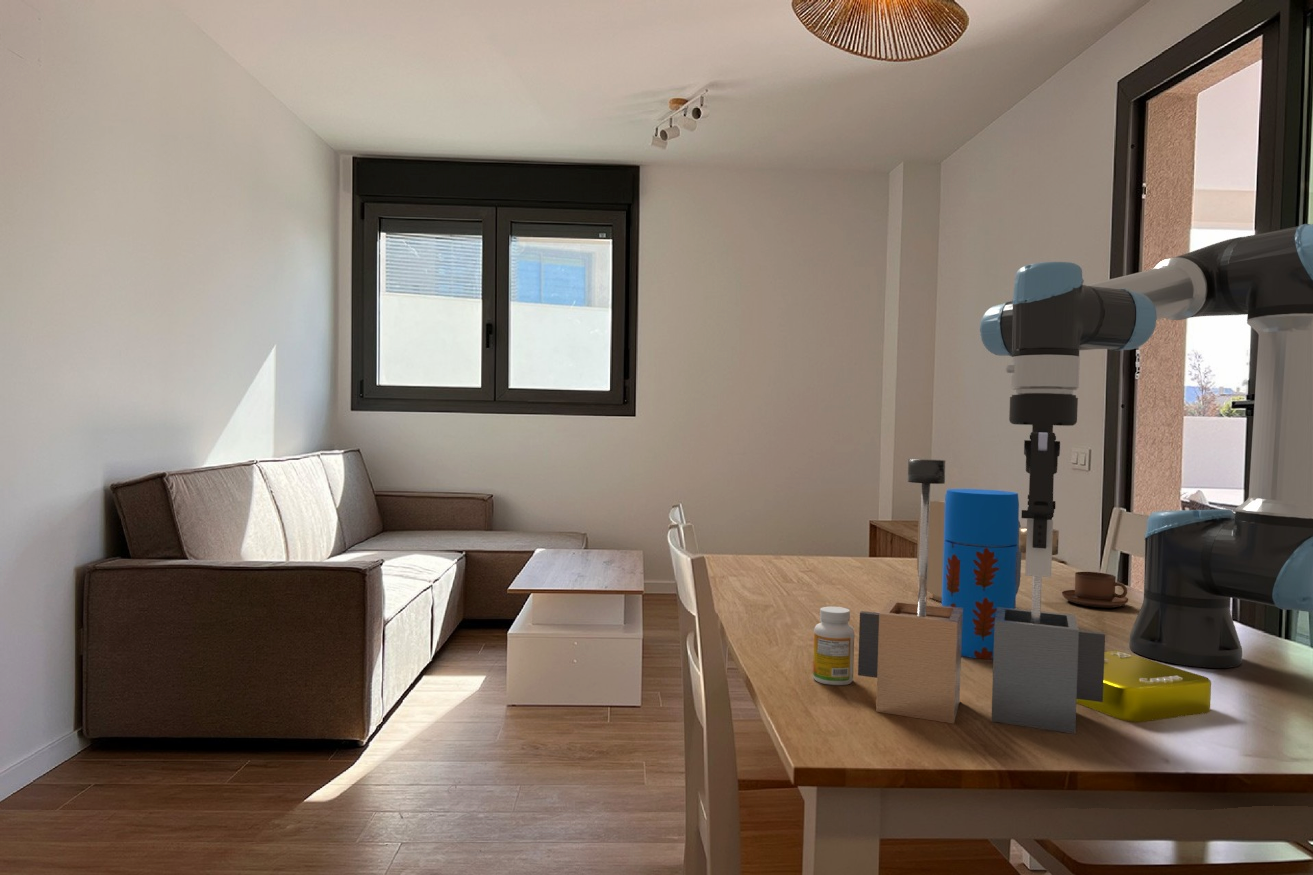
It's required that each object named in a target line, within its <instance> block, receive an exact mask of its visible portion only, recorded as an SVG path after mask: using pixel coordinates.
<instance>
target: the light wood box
mask: <svg viewBox="0 0 1313 875" xmlns="http://www.w3.org/2000/svg"><path fill="white" fill-rule="evenodd" d="M900 613H906V614H915V615H918V602H911V601H903V600H902V601H901V600H892V599H891V600H889V601H888V602H887V603H886V605H885V606H884V607H883V608H882V609H881V611H880V612H873V611H863V610H861V611H860V612H859V628H858V629H859V630H858V632H859V634H858V659H857V660H858V662H857V676H861V677H867V678H875V679H876V703H875V704H876V705H875V706H876V707H875V708H876V710H875V712H878V713H884V714H889V715H894V716H895V715H897V716H902V717H903V716H904V717H909V718H917V719H921V720H922V719H923V720H929V721H935V722H941V723H942V722H943V723H948V724H955V721H956V717H957V713H958V709H959V705H960V702H961V699H960V698H961V677H962V676H961V675H962V674H961V672H962V656H961V645H962V615H963V608H959V607H950V606H942V605H938V604H929V603H926V616H933V617H942V618H949V620H948V619H939V618H930V617H921V616H912V615H903V614H900Z"/></svg>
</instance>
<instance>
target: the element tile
mask: <svg viewBox="0 0 1313 875" xmlns="http://www.w3.org/2000/svg"><path fill="white" fill-rule="evenodd" d="M1211 691H1212V681H1211V680H1210V679H1209V677H1206V676H1204V675H1201V674H1198V673H1194V672H1192V671H1190V672H1189V671H1187V670H1184V669H1180V668H1177V667H1175V666H1174V667H1173V666H1171V665H1167V664H1165V663H1161V662H1158V661H1155V660H1151V659H1147V658H1144V657H1141V656H1138V655H1135V654H1131V653H1129V652H1128V653H1127V652H1124V651H1120V650H1109V651H1108V650H1107V651H1105V653H1104V681H1103V702H1097V701H1090V700H1082V699H1076V704H1079V705H1081V706H1084V707H1087V708H1089V709H1092V710H1094V711H1097V712H1099V713H1101V714H1104V715H1107V716H1109V717H1112V718H1115V719H1118V720H1120V721H1125V722H1130V723H1131V722H1132V723H1144V722H1152V721H1158V720H1166V719H1173V718H1175V719H1176V718H1181V717H1182V718H1183V717H1188V716H1196V715H1202V714H1204V715H1205V714H1208V713H1210V712H1211V698H1212V697H1211V696H1212V695H1211V694H1212V692H1211Z"/></svg>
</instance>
